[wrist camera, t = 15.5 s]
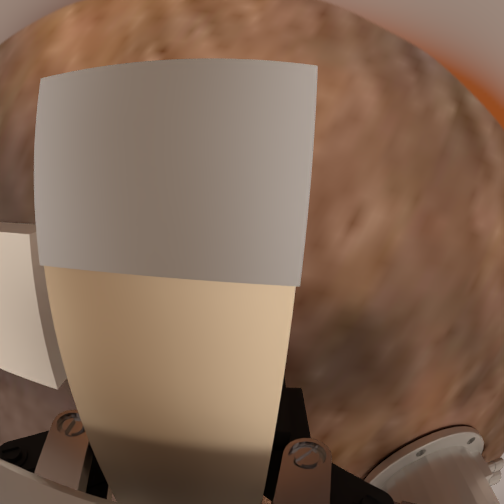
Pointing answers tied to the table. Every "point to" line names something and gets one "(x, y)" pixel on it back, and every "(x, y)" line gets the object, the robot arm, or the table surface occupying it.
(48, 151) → the grey-capped beige stick
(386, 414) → the table surface
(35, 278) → the white and teal block
